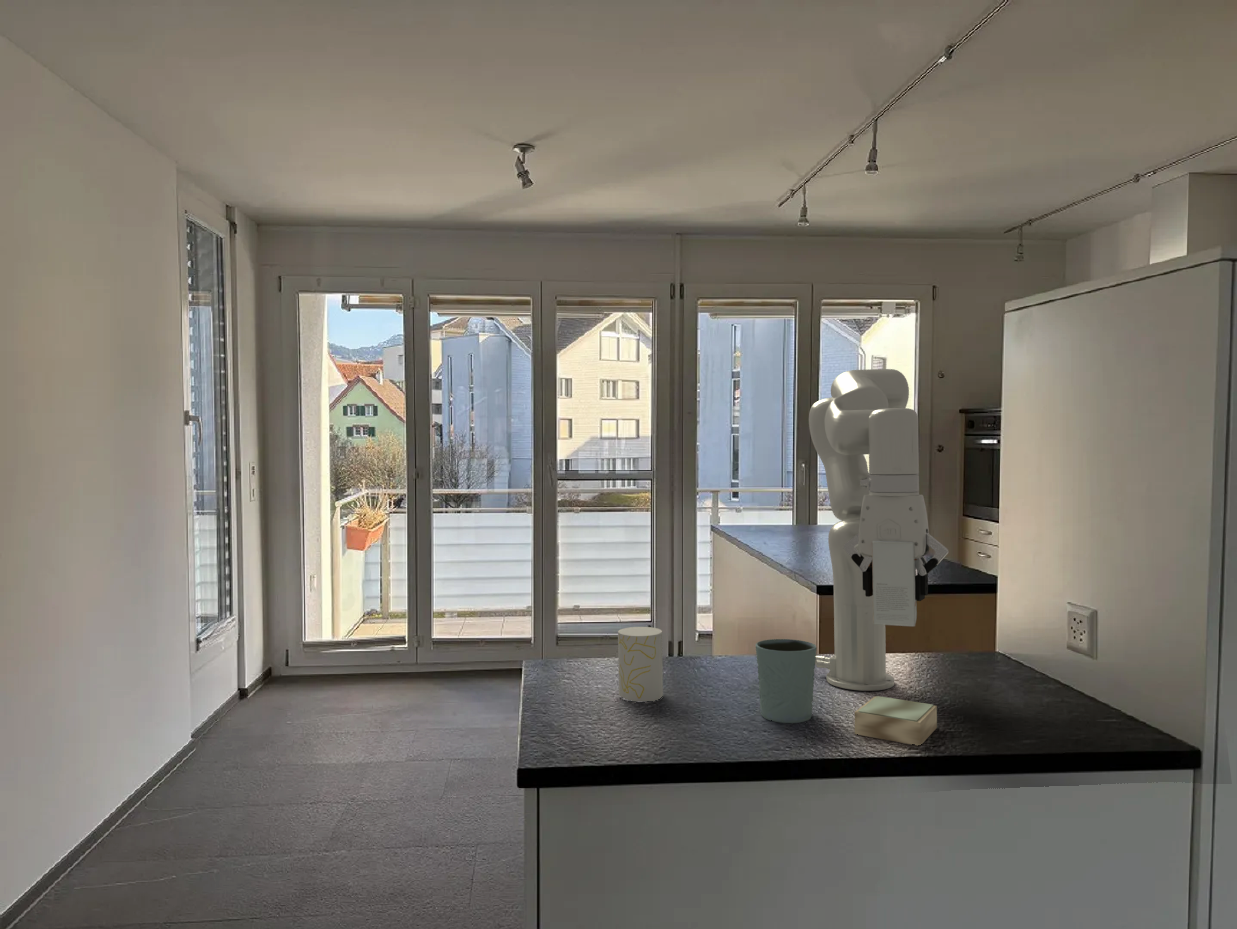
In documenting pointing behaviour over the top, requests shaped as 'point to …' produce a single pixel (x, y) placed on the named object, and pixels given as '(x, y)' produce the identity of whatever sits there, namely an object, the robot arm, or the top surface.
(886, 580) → the small box
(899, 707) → the plinth
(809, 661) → the green tumbler
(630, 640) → the cream patterned cylinder
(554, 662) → the top surface
